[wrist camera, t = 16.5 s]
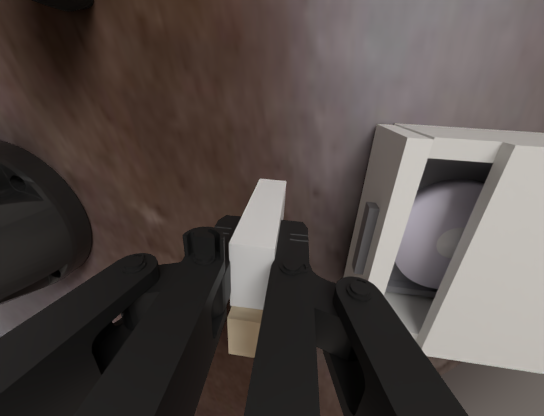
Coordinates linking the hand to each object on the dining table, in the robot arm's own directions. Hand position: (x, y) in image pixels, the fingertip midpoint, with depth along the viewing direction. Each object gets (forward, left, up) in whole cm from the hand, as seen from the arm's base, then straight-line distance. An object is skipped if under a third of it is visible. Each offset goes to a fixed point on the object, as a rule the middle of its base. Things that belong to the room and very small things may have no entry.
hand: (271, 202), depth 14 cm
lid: (+12, -3, -4) cm, 13 cm away
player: (+14, -3, -6) cm, 15 cm away
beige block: (-1, -16, -6) cm, 17 cm away
